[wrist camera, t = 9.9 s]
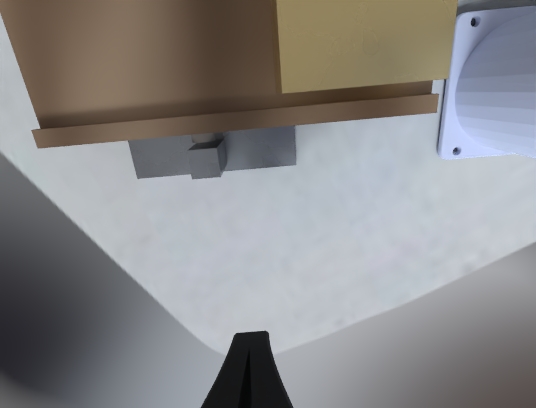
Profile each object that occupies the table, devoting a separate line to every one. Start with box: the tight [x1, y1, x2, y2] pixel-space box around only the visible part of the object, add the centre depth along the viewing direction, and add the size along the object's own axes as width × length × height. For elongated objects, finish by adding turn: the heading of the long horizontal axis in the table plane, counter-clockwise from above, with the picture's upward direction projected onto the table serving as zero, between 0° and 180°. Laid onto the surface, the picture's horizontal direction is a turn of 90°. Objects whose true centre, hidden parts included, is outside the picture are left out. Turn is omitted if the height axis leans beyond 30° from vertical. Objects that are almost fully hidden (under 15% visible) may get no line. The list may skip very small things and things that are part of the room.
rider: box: [270, 0, 458, 94], centre depth 11 cm, size 6×4×3 cm
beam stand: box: [128, 125, 296, 179], centre depth 15 cm, size 10×13×4 cm
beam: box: [0, 0, 439, 148], centre depth 13 cm, size 18×8×3 cm, turn 95°
